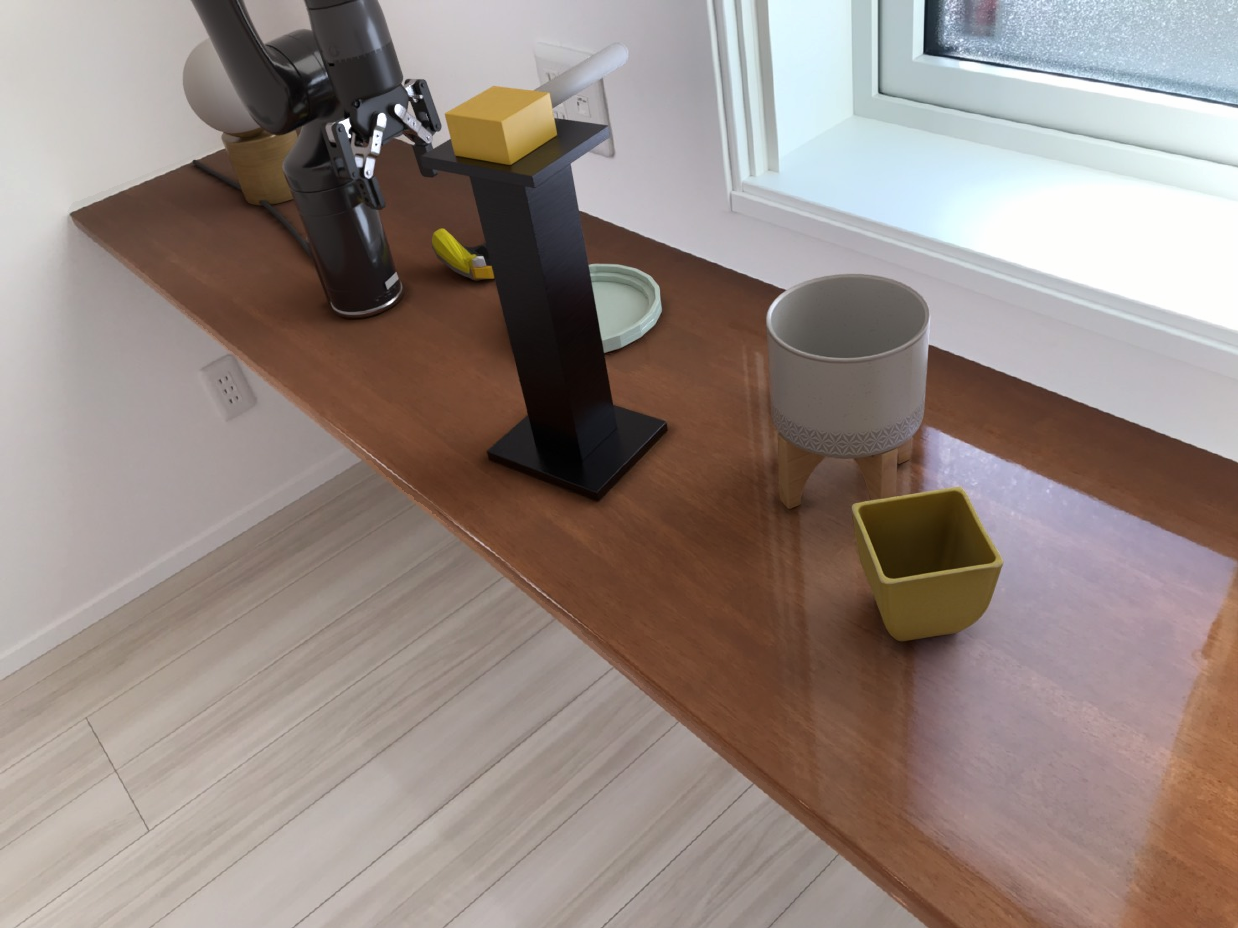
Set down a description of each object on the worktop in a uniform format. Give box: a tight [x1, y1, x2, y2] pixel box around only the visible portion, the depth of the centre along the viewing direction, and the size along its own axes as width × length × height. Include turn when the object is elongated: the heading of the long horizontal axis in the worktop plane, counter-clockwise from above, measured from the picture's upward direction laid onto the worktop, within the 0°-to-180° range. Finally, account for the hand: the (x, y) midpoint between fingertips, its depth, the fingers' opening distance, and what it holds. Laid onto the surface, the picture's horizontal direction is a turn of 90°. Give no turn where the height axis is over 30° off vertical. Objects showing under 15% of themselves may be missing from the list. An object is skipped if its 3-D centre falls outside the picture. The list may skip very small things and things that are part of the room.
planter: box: [765, 273, 931, 510], centre depth 87 cm, size 13×13×18 cm
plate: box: [589, 263, 663, 354], centre depth 121 cm, size 18×18×2 cm
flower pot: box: [851, 486, 1004, 642], centre depth 77 cm, size 9×9×9 cm
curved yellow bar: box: [431, 228, 494, 282], centre depth 134 cm, size 15×6×10 cm
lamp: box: [182, 37, 299, 206], centre depth 156 cm, size 15×14×25 cm
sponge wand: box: [444, 41, 630, 165], centre depth 85 cm, size 6×20×4 cm, turn 144°
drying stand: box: [421, 117, 669, 502], centre depth 92 cm, size 14×12×32 cm
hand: (404, 191), depth 114 cm, fingers open, 8 cm apart
